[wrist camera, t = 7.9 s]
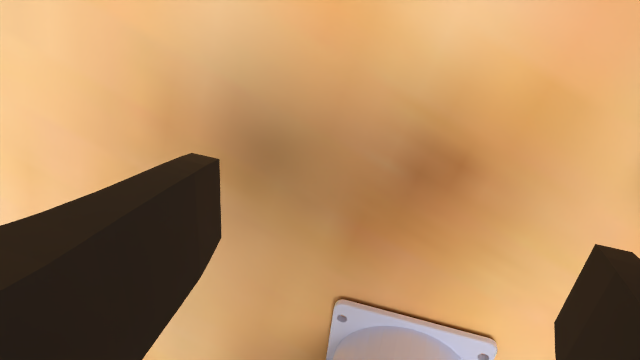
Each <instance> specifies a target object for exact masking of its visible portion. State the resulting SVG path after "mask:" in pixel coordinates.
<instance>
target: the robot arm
mask: <svg viewBox="0 0 640 360" xmlns="http://www.w3.org/2000/svg"><path fill="white" fill-rule="evenodd" d="M220 239H221V207H220V169H219V159H216V158H212V157H207V156H203V155H198V154H194V153H191V154H187V155H184V156H181V157H179V158H176V159H174V160H171V161H168V162H166V163H164V164H161V165H159V166H156V167H154V168H152V169H149V170H147V171H145V172H142V173H140V174H138V175H135V176H133V177H130V178H128V179H126V180H123V181H121V182H118V183H116V184H114V185H111V186H109V187H107V188H104V189H102V190H99V191H97V192H94V193H92V194H89V195H86V196H84V197H81V198H78V199H76V200H73V201H70V202H68V203H65V204H63V205H60V206H57V207H55V208H52V209H49V210H47V211H44V212H41V213H38V214H35V215H32V216H30V217H27V218H23V219H20V220H17V221H14V222H11V223H8V224H5V225H1V226H0V360H142V359H143V358H144V356H145V355H146V353H147V352H148V351H149V349H150V348H151V346H152V345H153V344H154V342H155V341H156V339H157V338H158V337H159V335H160V334H161V332H162V331H163V330H164V328H165V327H166V325H167V324H168V323H169V321H170V320H171V319H172V317H173V316H174V314H175V313H176V312H177V310H178V309H179V307H180V306H181V305H182V303H183V302H184V300H185V299H186V297H187V296H188V295H189V293H190V292H191V290H192V289H193V287H194V286H195V285H196V283H197V282H198V280H199V279H200V277H201V275H202V274H203V272H204V270H205V268H206V266H207V264H208V263H209V261H210V259H211V257H212V255H213V253H214V251H215V249H216V247H217V245H218V243H219V241H220ZM341 315H344V316H345V317H343V316H341ZM554 324H555V355H556V360H640V259H639V258H638V257H637V256H636V255H635V254H634V253H633V252H628V251H624V250H619V249H615V248H611V247H606V246H602V245H597V244H595V246H594V248H593V250H592V252H591V254H590V255H589V257H588V259H587V261H586V263H585V265H584V267H583V269H582V271H581V273H580V275H579V277H578V278H577V280H576V282H575V284H574V286H573V288H572V290H571V292H570V294H569V296H568V298H567V299H566V301H565V303H564V305H563V307H562V309H561V311H560V313H559V315H558V317H557V319H556V321H555V322H554ZM483 354H485V355H483ZM496 354H497V344H496V342H495V341H494V340H492V339H490V338H487V337H483V336H479V335H476V334H472V333H468V332H464V331H461V330H457V329H453V328H449V327H446V326H442V325H438V324H434V323H431V322H427V321H423V320H419V319H416V318H412V317H408V316H405V315H401V314H397V313H393V312H390V311H386V310H382V309H378V308H375V307H371V306H367V305H363V304H360V303H356V302H352V301H348V300H343V299H342V300H338V301H337V302H336V303H335V306H334V310H333V316H332V323H331V329H330V336H329V342H328V349H327V356H326V360H494V358H495V356H496Z"/></svg>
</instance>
